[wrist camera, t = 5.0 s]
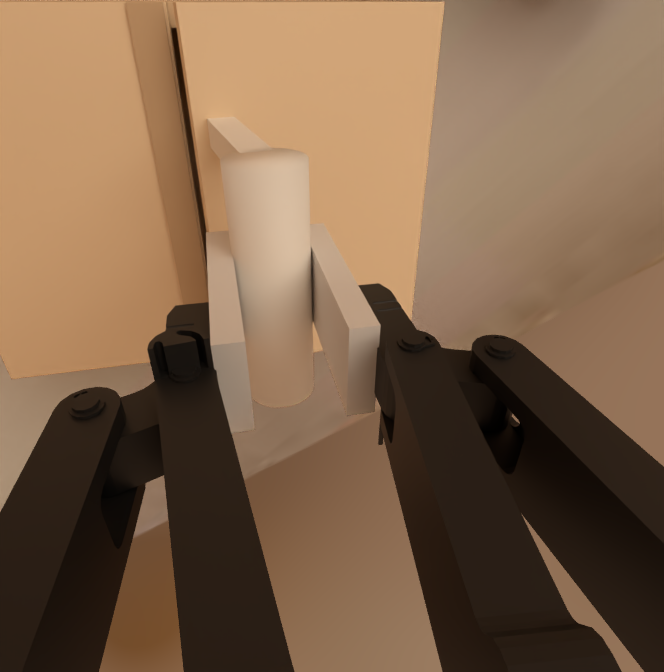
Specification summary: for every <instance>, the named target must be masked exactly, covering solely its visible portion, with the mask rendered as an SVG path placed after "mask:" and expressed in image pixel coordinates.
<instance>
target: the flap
mask: <svg viewBox="0 0 664 672" xmlns="http://www.w3.org/2000/svg"><path fill="white" fill-rule="evenodd" d="M444 4H445V2H173V8H174V15H175V22H176V28H177V35H178V42H179V49H180V55H181V62H182V69H183V76H184V83H185V89H186V96H187V103H188V110H189V116H190V123H191V130H192V137H193V143H194V150H195V157H196V164H197V171H198V177H199V184H200V191H201V198H202V204H203V211H204V218H205V225H206V231H207V232H217V231H229V239H230V248H231V254H232V255H233V259H234V266H235V273H236V280H237V287H238V294H239V301H240V308H241V315H242V322H243V329H244V337H245V344H246V353H247V362H248V371H249V380H250V389H251V398H252V399H253V400H254V401H256V402H257V403H259V404H261V405H264V406H268V407H275V408H282V407H289V406H293V405H296V404H298V403H300V402H302V401H304V400H305V399H307V398H308V397H309V396H310V394H311V393H312V391H313V389H314V357H313V353H314V352H318V351H323V348H322V345H321V343H320V340H319V337H318V334H317V331H316V329H315V326H314V323H313V316H312V276H311V235H310V224H319V223H324V225H325V227H326V229H327V230H328V232H329V234H330V236H331V238H332V239H333V241H334V243H335V245H336V246H337V248H338V250H339V252H340V254H341V255H342V257H343V259H344V261H345V263H346V264H347V266H348V268H349V270H350V272H351V273H352V275H353V277H354V279H355V280H356V282H357V284H358V285H366V284H376V283H380V284H381V285H383V286H384V287H386V288H388V289H389V290H391V292H392V293H393V295H394V296H395V298H396V299H397V302H399V304H400V305H401V307H402V309H403V310H404V311H405V313H406V314H407V316H408V317H409V319H410V320H411V316H412V307H413V297H414V288H415V278H416V269H417V259H418V250H419V240H420V231H421V221H422V212H423V202H424V193H425V184H426V174H427V165H428V155H429V146H430V136H431V127H432V117H433V108H434V98H435V89H436V79H437V70H438V60H439V51H440V41H441V32H442V23H443V13H444Z"/></svg>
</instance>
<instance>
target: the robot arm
mask: <svg viewBox="0 0 664 672" xmlns="http://www.w3.org/2000/svg"><path fill="white" fill-rule="evenodd" d="M310 235H311V276H312V316H313V323H314V326H315V329H316V331H317V334H318V337H319V340H320V343H321V345H322V348H323V351H324V354H325V357H326V359H327V362H328V365H329V368H330V371H331V373H332V376H333V379H334V382H335V385H336V387H337V390H338V393H339V396H340V399H341V401H342V404H343V407H344V410H345V413H346V415H347V416H351V415H357V414H364V413H371V412H375V398H377V400H378V402H379V404H380V406H381V415H380V428H379V442H378V444H379V445H382V444H383V438H384V441H385V445H386V449H387V453H388V456H389V460H390V465H391V469H392V473H393V477H394V481H395V485H396V488H397V493H398V497H399V501H400V504H401V508H402V512H403V516H404V520H405V524H406V528H407V532H408V536H409V540H410V544H411V548H412V552H413V556H414V560H415V564H416V568H417V572H418V576H419V580H420V584H421V587H422V591H423V595H424V600H425V604H426V608H427V612H428V615H429V619H430V623H431V627H432V631H433V635H434V639H435V643H436V647H437V651H438V655H439V659H440V663H441V667H442V671H443V672H621V670H620V668H619V666H618V664H617V662H616V660H615V658H614V656H613V654H612V653H611V651H610V649H609V648H608V646H607V645H606V643H605V641H604V640H603V638H602V637H601V636H600V635H599V634H598V633H597V632H596V631H595V630H594V629H593V628H592V627H588V626H585V625H581V624H578V623H577V622H576V621H575V620H574V619H573V618H572V616H571V615H570V613H569V612H568V610H567V608H566V606H565V604H564V602H563V600H562V598H561V595H560V593H559V591H558V589H557V587H556V585H555V583H554V581H553V579H552V577H551V575H550V573H549V571H548V568H547V566H546V564H545V562H544V560H543V558H542V556H541V554H540V552H539V550H538V548H537V546H536V544H535V542H534V539H533V537H532V535H531V533H530V531H529V529H528V527H527V525H526V523H525V521H524V519H523V516H524V517H525V519H526V520H527V521H528V522H529V524H530V525H531V526H532V528H533V529H534V530H535V531H536V533H537V534H538V535H539V536H540V538H541V539H542V541H543V542H544V543H545V544H546V545H547V547H548V548H549V549H550V551H551V552H552V553H553V555H554V556H555V557H556V559H557V560H558V561H559V562H560V564H561V565H562V566H563V568H564V569H565V570H566V571H567V573H568V574H569V575H570V576H571V578H572V579H573V580H574V582H575V583H576V584H577V585H578V587H579V588H580V589H581V591H582V592H583V593H584V595H585V596H586V597H587V598H588V600H589V601H590V602H591V604H592V605H593V606H594V607H595V608H596V610H597V611H598V613H599V614H600V615H601V616H602V618H603V619H604V620H605V622H606V623H607V624H608V625H609V627H610V628H611V629H612V630H613V632H614V633H615V634H616V636H617V637H618V638H619V640H620V641H621V642H622V643H623V645H624V646H625V647H626V649H627V650H628V651H629V652H630V653H631V655H632V656H633V658H634V659H635V660H636V661H637V663H638V664H639V665H640V667H641V668H642V669H643V670H644V672H664V467H663V466H662V465H661V464H660V463H658V461H656V460H655V459H654V458H653V457H652V456H650V455H649V454H648V453H647V452H646V451H645V450H643V449H642V448H641V447H640V446H639V445H638V444H637V443H636V442H634V441H633V440H632V439H631V438H630V437H629V436H627V435H626V434H625V433H624V432H623V431H622V430H621V429H619V428H618V427H617V426H616V425H615V424H613V423H612V422H611V421H610V420H609V419H608V418H607V417H605V416H604V415H603V414H602V413H601V412H600V411H599V410H597V409H596V408H595V407H594V406H593V405H592V404H590V403H589V402H588V401H587V400H586V399H585V398H584V397H582V396H581V395H580V394H579V393H578V392H576V391H575V390H574V389H573V388H572V387H571V386H570V385H568V384H567V383H566V382H565V381H564V380H563V379H562V378H560V377H559V376H558V375H557V374H556V373H555V372H553V371H552V370H551V369H550V368H549V367H548V366H546V365H545V364H544V363H543V362H542V361H541V360H540V359H538V358H537V357H536V356H535V355H534V354H533V353H531V352H530V351H529V350H528V349H527V348H526V347H524V346H523V345H522V344H520V343H519V342H517V341H516V340H514V339H511V338H508V337H505V336H501V335H500V336H499V335H486V336H482V337H480V338H477V339H476V340H475V341H474V342H473V344H472V349H471V351H466V350H453V349H446V348H441V346H440V344H439V342H438V341H437V340H436V339H435V337H433V336H432V335H430V334H428V333H426V332H423V331H419V330H417V329H416V328H415V326H414V325H413V323H412V322H411V320H410V319H409V317H408V316H407V314H406V313H405V311H404V310H403V309H402V307H401V305H400V304H399V302H397V299H396V298H395V296H394V295H393V293H392V292H391V290H389V289H388V288H386V287H384V286H383V285H381V284H380V283H376V284H366V285H358V284H357V282H356V280H355V279H354V277H353V275H352V273H351V272H350V270H349V268H348V266H347V264H346V263H345V261H344V259H343V257H342V255H341V254H340V252H339V250H338V248H337V246H336V245H335V243H334V241H333V239H332V238H331V236H330V234H329V232H328V230H327V229H326V227H325V225H324V223H319V224H310ZM206 246H207V271H208V296H209V302H204V303H195V304H185V305H175V306H174V308H173V309H172V310H171V311H170V313H169V314H168V315H167V319H166V330H165V331H164V332H162V333H160V334H159V335H157V336H155V337H154V338H153V339H152V340H151V341H150V342H149V345H148V348H147V351H148V355H149V359H150V363H151V367H152V371H153V375H154V379H155V381H154V382H153V383H152V384H151V385H149V386H148V387H146V388H144V389H142V390H140V391H138V392H135V393H133V394H130V395H127V396H124V397H121V398H120V396H119V395H118V394H117V392H116V391H114V390H111V389H109V388H102V387H94V388H88V389H83V390H81V391H78V392H75V393H73V394H71V395H69V396H68V397H66V398H65V399H63V400H62V401H61V402H60V403H59V404H58V405H57V407H56V408H55V409H54V411H53V413H52V415H51V417H50V418H49V420H48V422H47V424H46V426H45V428H44V430H43V432H42V434H41V436H40V438H39V439H38V441H37V443H36V445H35V447H34V449H33V451H32V453H31V455H30V457H29V459H28V461H27V462H26V464H25V466H24V468H23V470H22V472H21V474H20V476H19V478H18V480H17V482H16V483H15V485H14V487H13V489H12V491H11V493H10V495H9V497H8V499H7V501H6V503H5V504H4V506H3V508H2V510H1V512H0V672H99V669H100V665H101V661H102V657H103V653H104V649H105V645H106V641H107V637H108V634H109V630H110V625H111V622H112V618H113V614H114V610H115V606H116V602H117V598H118V594H119V590H120V586H121V582H122V578H123V574H124V570H125V567H126V563H127V558H128V555H129V551H130V546H131V543H132V539H133V535H134V531H135V527H136V523H137V519H138V515H139V511H140V507H141V503H142V499H143V496H144V492H145V483H146V482H149V481H151V480H153V479H156V478H158V477H160V476H163V475H164V479H165V489H166V499H167V509H168V519H169V529H170V538H171V548H172V558H173V568H174V578H175V588H176V598H177V608H178V618H179V628H180V638H181V648H182V658H183V668H184V672H294V669H293V665H292V662H291V658H290V654H289V650H288V646H287V643H286V639H285V635H284V631H283V627H282V624H281V620H280V616H279V612H278V609H277V605H276V601H275V597H274V594H273V589H272V586H271V582H270V578H269V574H268V571H267V567H266V563H265V559H264V555H263V551H262V548H261V544H260V540H259V536H258V533H257V529H256V525H255V521H254V517H253V513H252V510H251V507H250V502H249V498H248V495H247V491H246V487H245V483H244V479H243V476H242V472H241V468H240V464H239V460H238V457H237V453H236V449H235V445H234V441H233V438H232V434H233V433H239V432H246V431H252V430H255V424H254V416H253V407H252V398H251V389H250V380H249V371H248V362H247V353H246V344H245V337H244V329H243V322H242V315H241V308H240V301H239V294H238V287H237V280H236V273H235V266H234V259H233V255H232V254H231V248H230V239H229V231H217V232H206ZM512 413H513V414H514V415H515V417H516V418H517V419H518V420H519V422H520V424H519V423H518V422H516V421H515V420H514V419H513V417H512ZM521 513H522V514H521ZM522 515H523V516H522Z"/></svg>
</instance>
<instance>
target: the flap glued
mask: <svg viewBox="0 0 664 672" xmlns="http://www.w3.org/2000/svg"><path fill="white" fill-rule="evenodd" d="M204 302H209V296H208V271H207V261H206V254H205V248H204V241H203V235H202V228H201V222H200V215H199V208H198V202H197V195H196V189H195V182H194V176H193V169H192V163H191V156H190V150H189V143H188V137H187V130H186V124H185V117H184V110H183V104H182V97H181V91H180V84H179V78H178V71H177V65H176V58H175V52H174V45H173V39H172V32H171V26H170V19H169V12H168V6H167V2H0V355H1V357H2V359H3V362H4V364H5V366H6V368H7V370H8V372H9V375H10V377H11V379H16V378H24V377H33V376H41V375H49V374H57V373H65V372H73V371H82V370H90V369H98V368H106V367H114V366H122V365H131V364H139V363H147V362H150V359H149V355H148V351H147V348H148V345H149V342H150V341H151V340H152V339H153V338H154V337H155V336H157V335H159V334H160V333H162V332H164V331H165V330H166V319H167V315H168V314H169V313H170V311H171V310H172V309H173V308H174V306H175V305H185V304H195V303H204Z"/></svg>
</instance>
